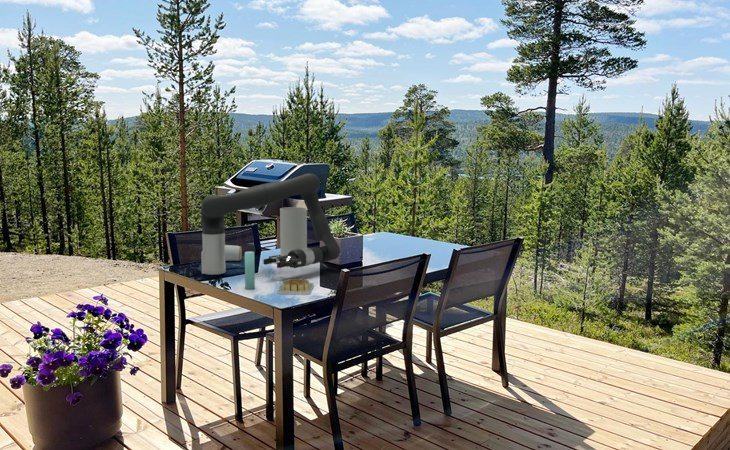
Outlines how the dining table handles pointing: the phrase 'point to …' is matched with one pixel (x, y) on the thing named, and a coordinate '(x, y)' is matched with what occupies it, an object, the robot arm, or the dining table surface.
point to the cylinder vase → (293, 229)
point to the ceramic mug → (233, 253)
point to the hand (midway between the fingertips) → (270, 263)
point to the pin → (249, 270)
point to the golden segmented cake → (296, 287)
